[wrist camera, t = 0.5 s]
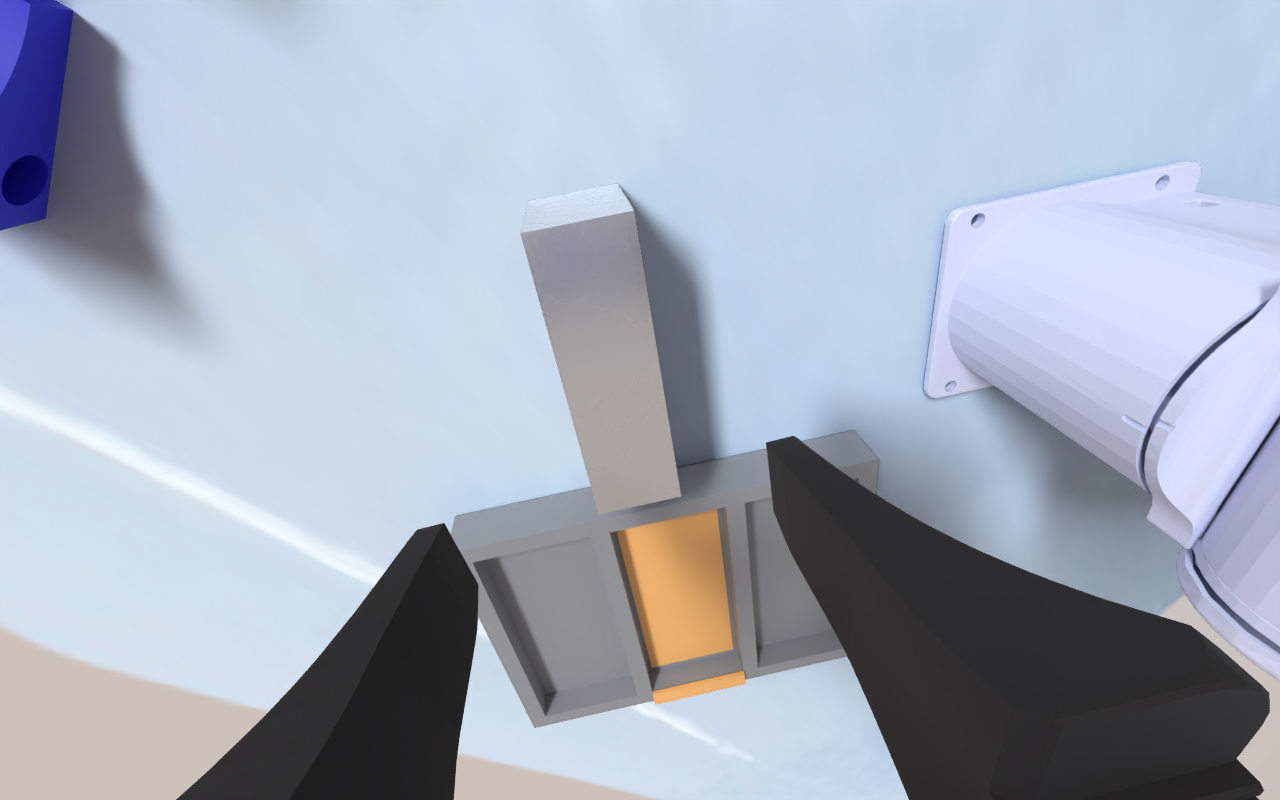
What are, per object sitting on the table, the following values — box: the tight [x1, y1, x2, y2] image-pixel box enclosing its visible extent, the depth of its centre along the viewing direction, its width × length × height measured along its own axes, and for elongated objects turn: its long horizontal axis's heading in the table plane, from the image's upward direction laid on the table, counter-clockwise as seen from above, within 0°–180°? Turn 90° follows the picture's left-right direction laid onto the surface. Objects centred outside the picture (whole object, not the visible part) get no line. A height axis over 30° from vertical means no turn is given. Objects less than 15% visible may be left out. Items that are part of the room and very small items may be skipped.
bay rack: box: [451, 430, 879, 728], centre depth 27 cm, size 18×14×2 cm
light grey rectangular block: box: [521, 183, 681, 514], centre depth 18 cm, size 3×10×4 cm, turn 9°
